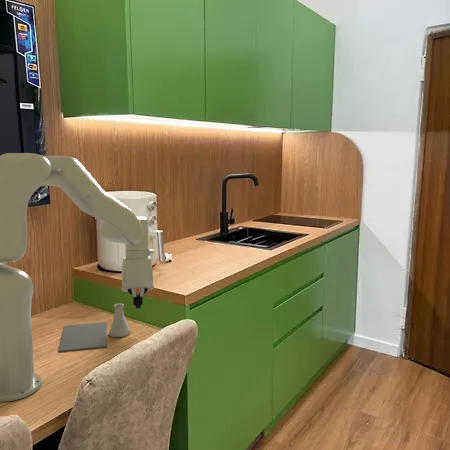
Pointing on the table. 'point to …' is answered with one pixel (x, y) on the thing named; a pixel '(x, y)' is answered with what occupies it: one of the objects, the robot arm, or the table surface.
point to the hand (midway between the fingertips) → (137, 307)
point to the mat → (83, 337)
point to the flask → (119, 323)
